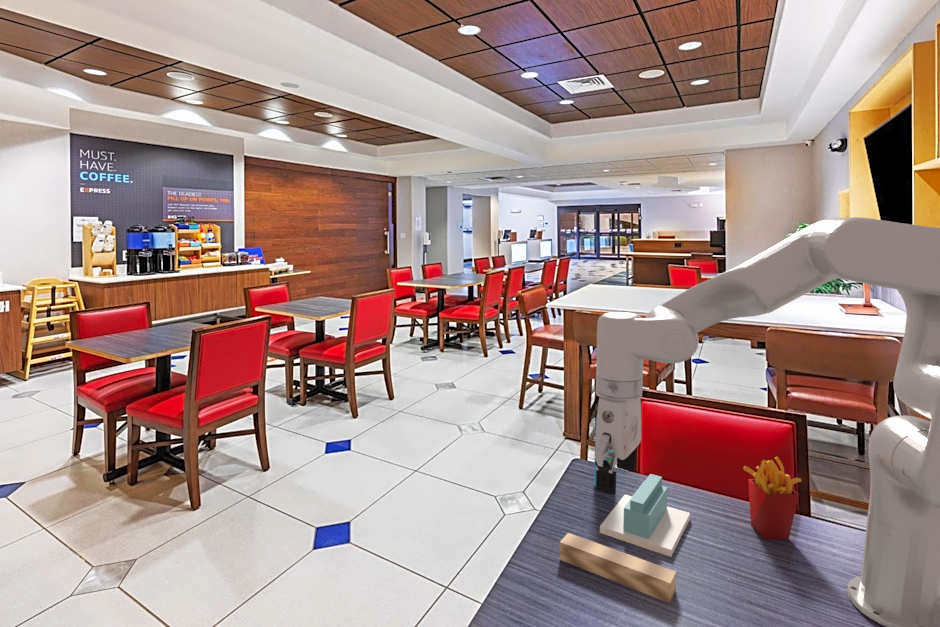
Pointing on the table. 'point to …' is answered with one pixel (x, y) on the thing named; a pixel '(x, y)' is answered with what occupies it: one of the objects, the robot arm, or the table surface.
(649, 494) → the ridge stand
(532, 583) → the table surface
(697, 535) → the table surface
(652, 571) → the oak bar
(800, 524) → the table surface
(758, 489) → the french fries
